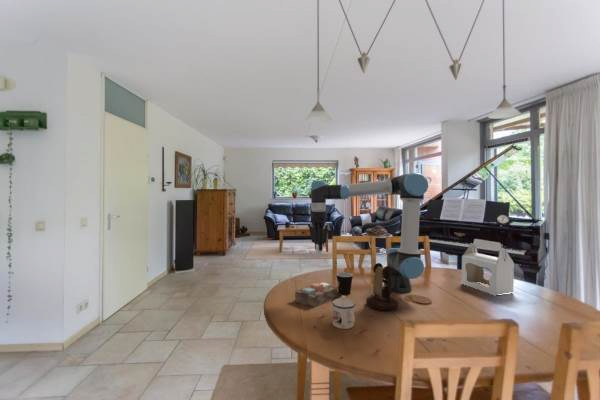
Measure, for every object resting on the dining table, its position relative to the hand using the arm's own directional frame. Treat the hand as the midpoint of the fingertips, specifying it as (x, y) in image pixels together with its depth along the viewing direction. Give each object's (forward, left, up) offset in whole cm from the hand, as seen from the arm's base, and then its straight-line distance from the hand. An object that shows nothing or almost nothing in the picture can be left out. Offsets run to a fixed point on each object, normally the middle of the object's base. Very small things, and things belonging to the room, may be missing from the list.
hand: (318, 256), depth 149 cm
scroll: (-30, -12, -21) cm, 38 cm away
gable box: (-61, -79, -21) cm, 102 cm away
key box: (-2, +3, -21) cm, 21 cm away
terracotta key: (-2, +3, -18) cm, 19 cm away
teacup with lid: (-29, +18, -21) cm, 40 cm away
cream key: (-2, -3, -20) cm, 20 cm away
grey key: (-2, +9, -20) cm, 22 cm away
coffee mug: (-6, -16, -21) cm, 27 cm away
